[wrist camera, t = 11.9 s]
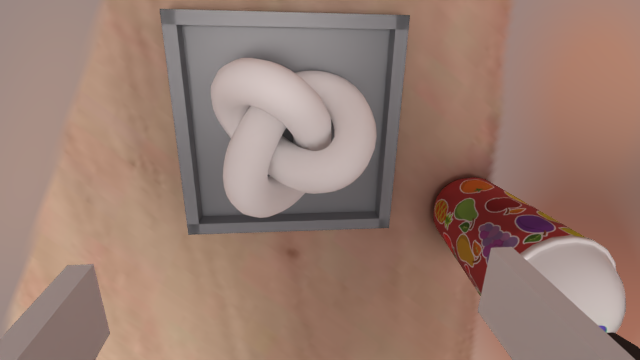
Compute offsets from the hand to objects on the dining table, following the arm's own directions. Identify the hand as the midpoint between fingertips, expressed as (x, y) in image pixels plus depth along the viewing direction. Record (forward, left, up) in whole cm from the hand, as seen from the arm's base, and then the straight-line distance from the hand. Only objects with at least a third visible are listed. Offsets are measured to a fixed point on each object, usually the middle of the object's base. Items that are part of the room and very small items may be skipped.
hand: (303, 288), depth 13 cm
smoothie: (-8, -17, -22) cm, 29 cm away
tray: (0, 0, -22) cm, 22 cm away
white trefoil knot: (0, 0, -21) cm, 21 cm away
